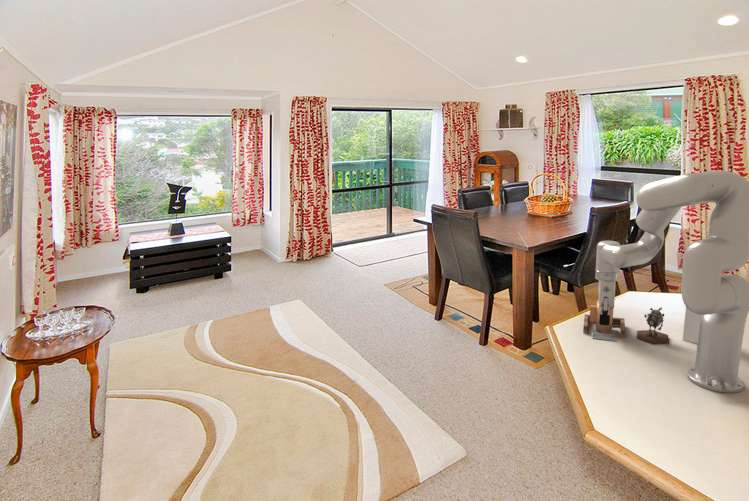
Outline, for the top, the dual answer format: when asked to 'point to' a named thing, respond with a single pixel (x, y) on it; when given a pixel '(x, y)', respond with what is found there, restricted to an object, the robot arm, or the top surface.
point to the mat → (603, 337)
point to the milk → (691, 326)
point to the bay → (616, 322)
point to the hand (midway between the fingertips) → (604, 321)
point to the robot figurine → (652, 335)
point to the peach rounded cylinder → (595, 317)
